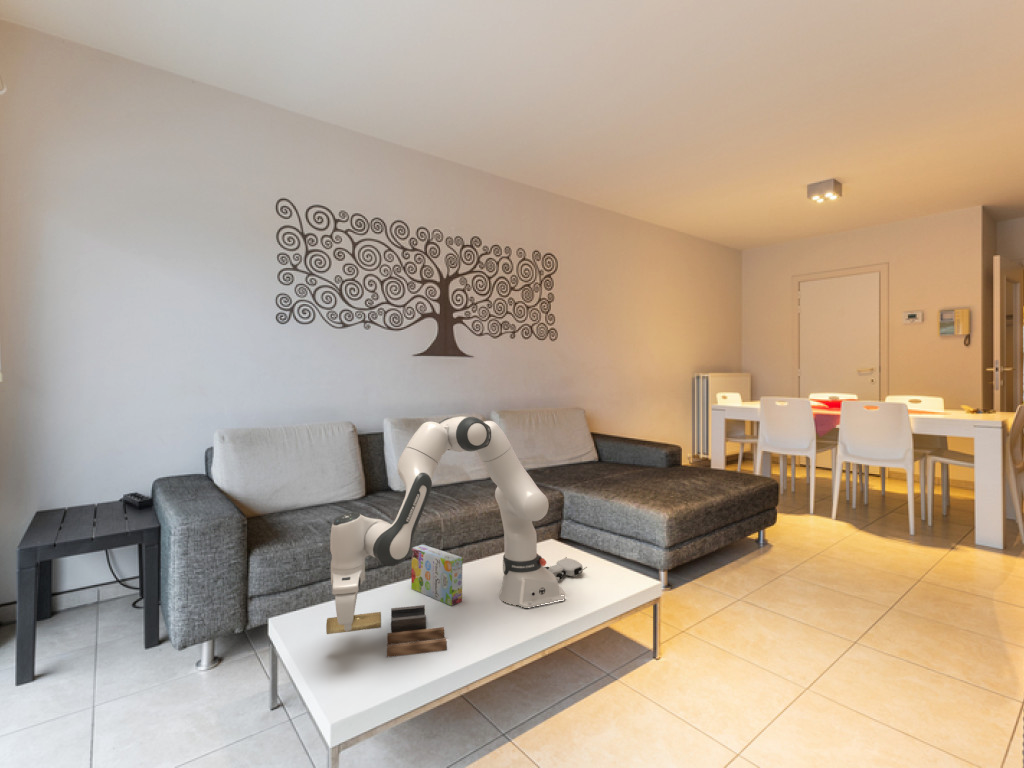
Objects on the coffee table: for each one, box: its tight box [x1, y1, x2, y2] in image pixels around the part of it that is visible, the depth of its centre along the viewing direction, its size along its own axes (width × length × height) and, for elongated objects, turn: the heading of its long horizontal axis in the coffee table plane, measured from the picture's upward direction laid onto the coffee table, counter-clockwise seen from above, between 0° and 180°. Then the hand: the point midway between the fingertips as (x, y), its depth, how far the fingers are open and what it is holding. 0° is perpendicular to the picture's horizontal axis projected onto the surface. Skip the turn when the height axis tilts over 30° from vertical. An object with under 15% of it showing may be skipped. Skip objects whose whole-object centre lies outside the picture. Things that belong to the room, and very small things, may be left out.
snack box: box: [410, 543, 464, 606], centre depth 175 cm, size 21×6×15 cm, turn 50°
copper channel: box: [386, 626, 448, 658], centre depth 142 cm, size 16×8×2 cm, turn 103°
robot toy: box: [544, 556, 588, 581], centre depth 192 cm, size 12×4×15 cm
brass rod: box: [325, 611, 382, 635], centre depth 138 cm, size 14×4×4 cm, turn 103°
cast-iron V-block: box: [390, 604, 427, 633], centre depth 151 cm, size 10×8×5 cm
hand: (349, 624), depth 138 cm, fingers closed on brass rod, 4 cm apart
